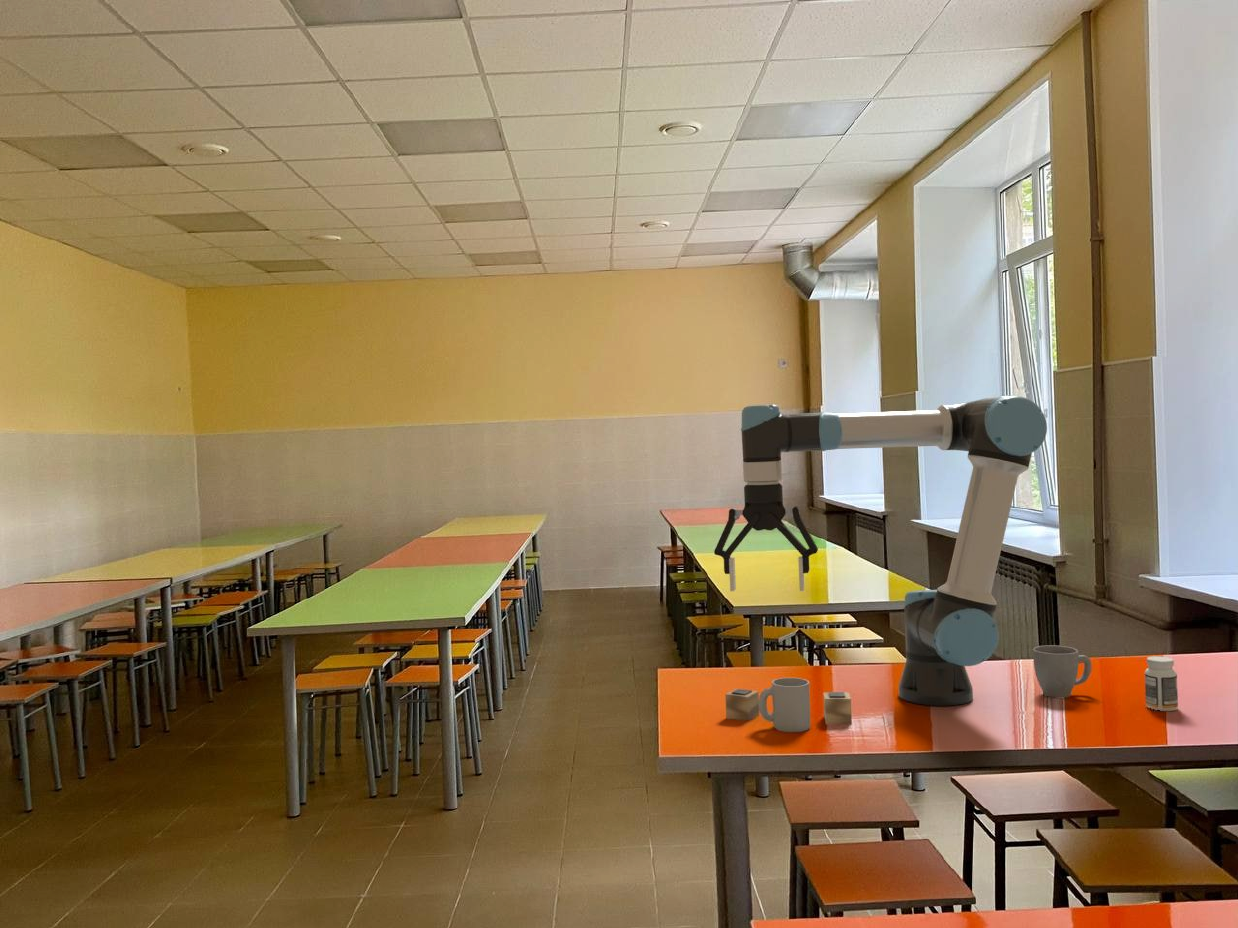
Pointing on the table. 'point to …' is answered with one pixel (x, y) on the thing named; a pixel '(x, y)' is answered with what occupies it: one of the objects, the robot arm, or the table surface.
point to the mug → (1059, 669)
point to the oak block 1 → (742, 704)
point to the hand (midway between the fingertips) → (767, 590)
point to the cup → (787, 704)
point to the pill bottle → (1161, 684)
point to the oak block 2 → (837, 708)
